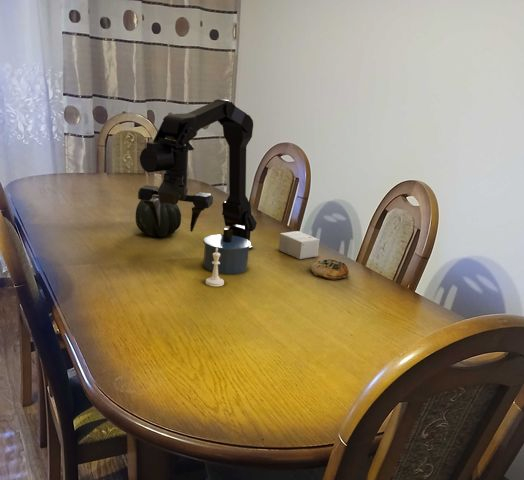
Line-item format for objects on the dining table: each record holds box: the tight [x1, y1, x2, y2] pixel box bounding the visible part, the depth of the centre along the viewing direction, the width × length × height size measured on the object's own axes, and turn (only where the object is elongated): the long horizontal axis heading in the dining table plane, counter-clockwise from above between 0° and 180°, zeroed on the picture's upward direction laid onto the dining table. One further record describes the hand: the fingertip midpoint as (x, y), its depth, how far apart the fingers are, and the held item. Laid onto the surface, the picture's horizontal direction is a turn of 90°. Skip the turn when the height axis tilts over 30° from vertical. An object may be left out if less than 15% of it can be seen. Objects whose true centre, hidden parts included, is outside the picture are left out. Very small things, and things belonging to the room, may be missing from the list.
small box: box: [277, 230, 321, 260], centre depth 178 cm, size 8×6×10 cm
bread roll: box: [310, 258, 349, 281], centre depth 164 cm, size 11×11×5 cm
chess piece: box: [205, 246, 225, 287], centre depth 147 cm, size 5×5×10 cm
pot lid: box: [203, 227, 252, 250], centre depth 157 cm, size 13×13×5 cm
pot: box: [203, 243, 250, 275], centre depth 160 cm, size 12×12×7 cm
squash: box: [135, 200, 182, 238], centre depth 181 cm, size 14×15×15 cm
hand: (174, 228), depth 151 cm, fingers open, 9 cm apart
